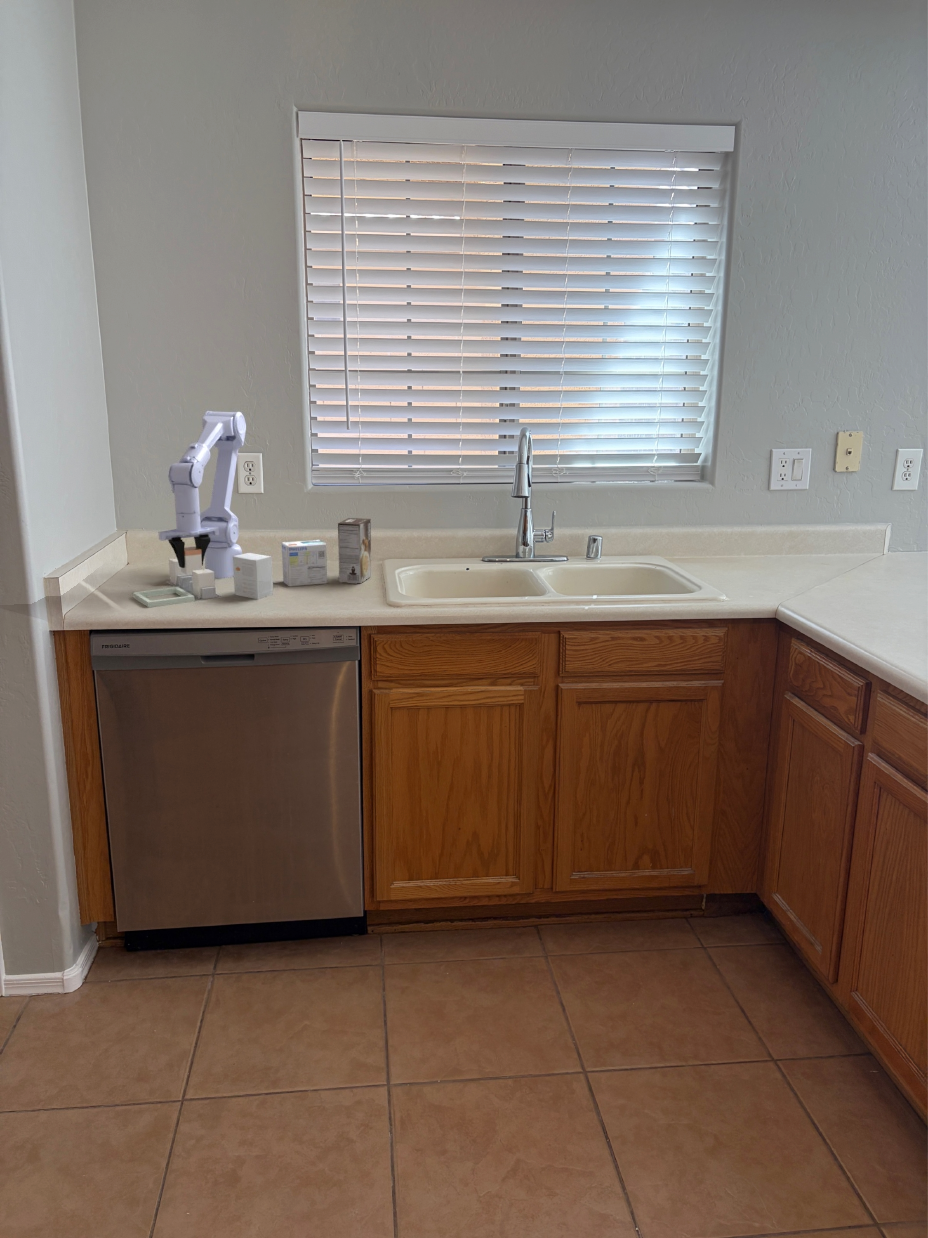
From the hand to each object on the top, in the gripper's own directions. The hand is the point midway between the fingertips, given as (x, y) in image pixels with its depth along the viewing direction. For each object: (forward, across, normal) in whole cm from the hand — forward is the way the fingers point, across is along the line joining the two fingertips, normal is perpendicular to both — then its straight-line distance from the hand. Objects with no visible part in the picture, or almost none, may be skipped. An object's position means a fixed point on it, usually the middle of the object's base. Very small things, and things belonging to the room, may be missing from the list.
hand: (191, 566), depth 230 cm
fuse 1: (+6, 0, +8) cm, 10 cm away
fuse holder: (+7, 0, 0) cm, 7 cm away
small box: (+7, +10, -14) cm, 18 cm away
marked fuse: (+2, 0, 0) cm, 2 cm away
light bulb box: (+7, +28, -6) cm, 30 cm away
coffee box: (+7, +41, -10) cm, 43 cm away
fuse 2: (+6, 0, -8) cm, 10 cm away
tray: (+6, -10, -7) cm, 13 cm away
